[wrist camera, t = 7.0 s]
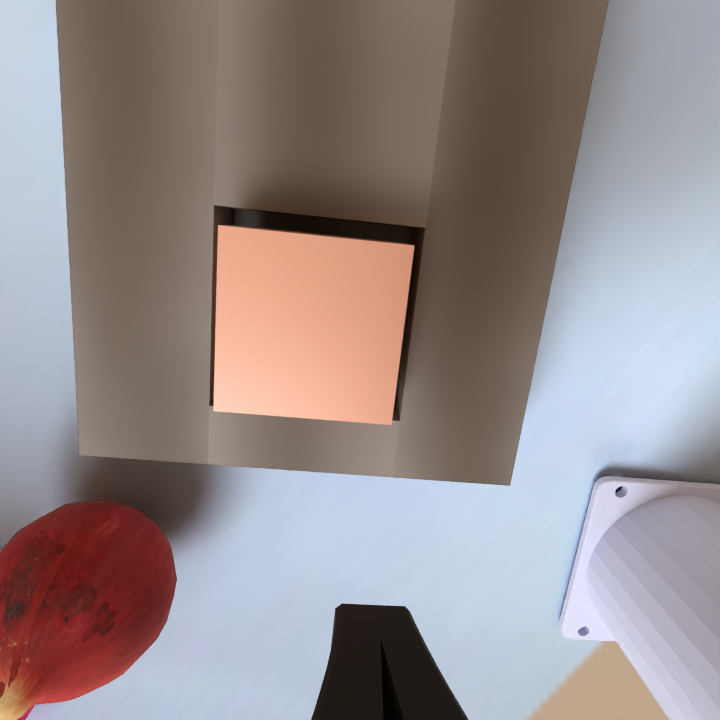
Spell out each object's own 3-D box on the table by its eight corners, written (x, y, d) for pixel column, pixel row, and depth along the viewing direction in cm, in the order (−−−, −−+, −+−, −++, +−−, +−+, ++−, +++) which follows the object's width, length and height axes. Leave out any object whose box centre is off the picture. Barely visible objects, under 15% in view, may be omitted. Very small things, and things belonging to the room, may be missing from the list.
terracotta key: (399, 242, 15) (414, 245, 13) (382, 390, 17) (391, 424, 14) (240, 225, 15) (218, 224, 12) (235, 378, 16) (213, 411, 13)
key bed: (606, -258, 14) (692, -412, 11) (480, 441, 20) (509, 485, 16) (107, -349, 13) (27, -550, 10) (125, 414, 19) (79, 455, 15)
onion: (41, 469, 19) (-159, 631, 11) (187, 457, 19) (88, 609, 12) (74, 591, 21) (-83, 807, 13) (209, 580, 21) (134, 786, 13)
